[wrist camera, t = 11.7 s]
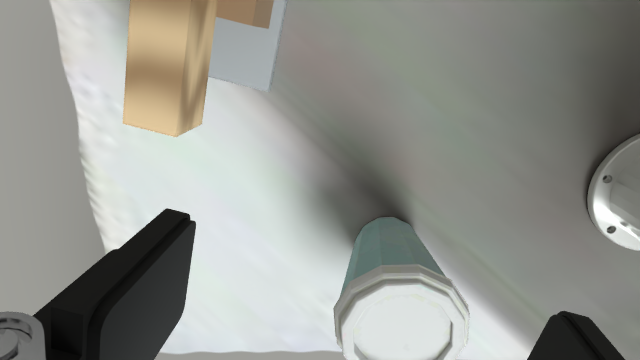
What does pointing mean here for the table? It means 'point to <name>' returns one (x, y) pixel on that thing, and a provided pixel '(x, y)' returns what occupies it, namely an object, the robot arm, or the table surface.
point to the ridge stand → (246, 41)
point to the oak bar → (168, 64)
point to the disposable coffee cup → (398, 300)
